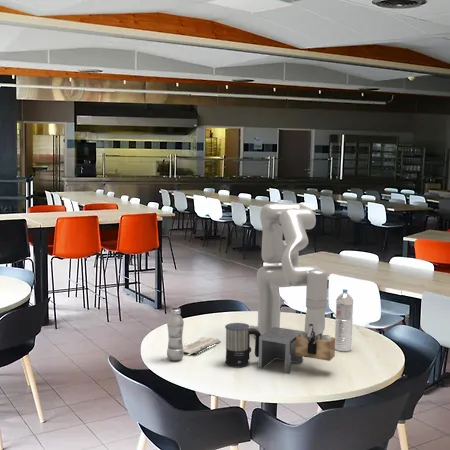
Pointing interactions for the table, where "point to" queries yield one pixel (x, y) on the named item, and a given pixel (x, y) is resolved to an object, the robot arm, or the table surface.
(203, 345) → the newspaper
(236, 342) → the milk frother
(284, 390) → the table surface
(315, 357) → the glass carrier
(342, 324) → the water bottle
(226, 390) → the table surface
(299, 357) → the gray open-front box
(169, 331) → the plastic bottle
